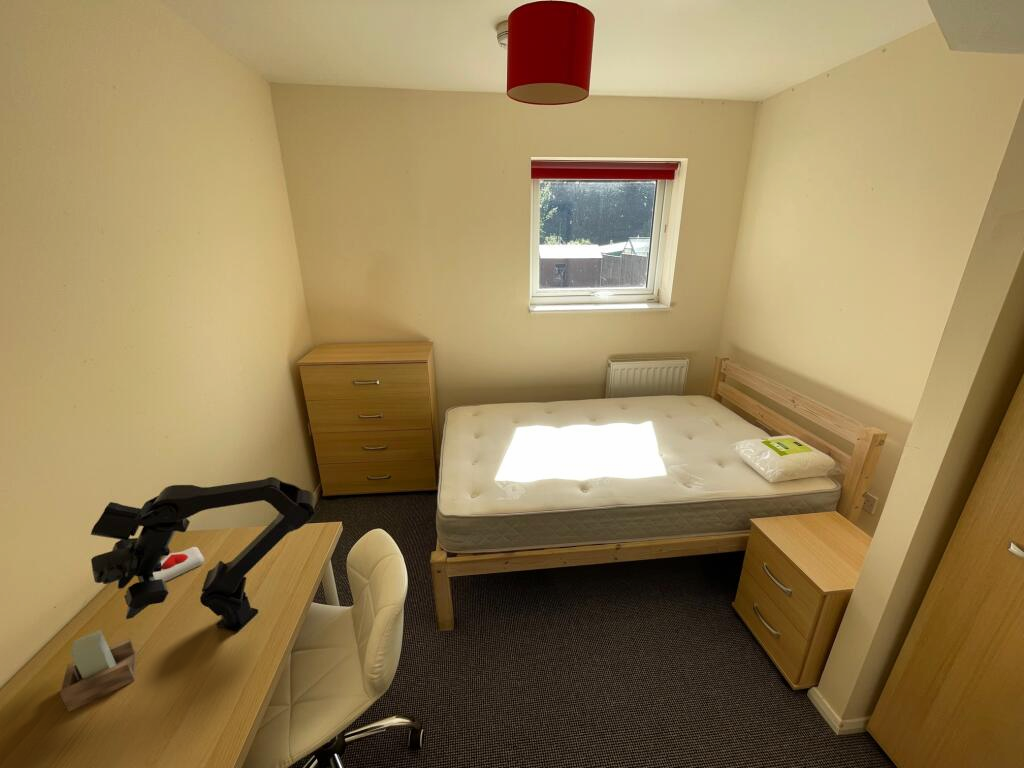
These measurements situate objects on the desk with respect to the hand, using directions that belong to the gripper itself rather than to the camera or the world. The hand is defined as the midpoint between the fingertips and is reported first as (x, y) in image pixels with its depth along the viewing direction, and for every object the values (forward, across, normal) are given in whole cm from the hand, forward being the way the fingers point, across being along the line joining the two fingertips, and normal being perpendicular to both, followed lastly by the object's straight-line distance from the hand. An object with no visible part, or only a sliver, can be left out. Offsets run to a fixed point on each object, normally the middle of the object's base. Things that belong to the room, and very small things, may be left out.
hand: (124, 602), depth 92 cm
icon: (+12, -22, +19) cm, 32 cm away
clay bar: (+13, +6, 0) cm, 15 cm away
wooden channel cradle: (+14, +7, 0) cm, 16 cm away
